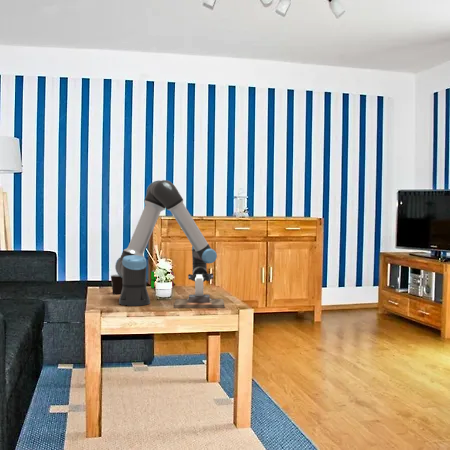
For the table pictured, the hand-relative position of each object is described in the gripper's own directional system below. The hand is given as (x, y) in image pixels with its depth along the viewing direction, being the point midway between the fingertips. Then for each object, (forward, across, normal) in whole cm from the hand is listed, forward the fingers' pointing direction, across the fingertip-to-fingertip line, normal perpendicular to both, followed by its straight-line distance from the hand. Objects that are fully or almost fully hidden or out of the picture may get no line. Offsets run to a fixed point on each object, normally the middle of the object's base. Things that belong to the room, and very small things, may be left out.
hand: (201, 280), depth 304 cm
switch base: (-4, +2, -12) cm, 13 cm away
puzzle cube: (-65, +21, -13) cm, 69 cm away
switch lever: (-4, +1, -8) cm, 9 cm away
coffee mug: (-45, +44, -12) cm, 64 cm away
